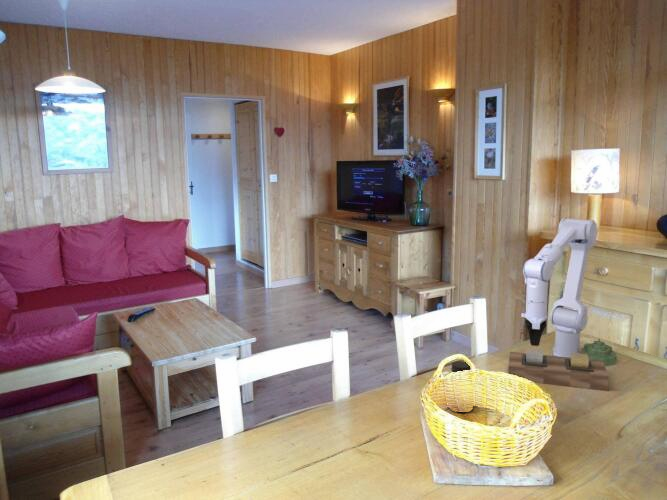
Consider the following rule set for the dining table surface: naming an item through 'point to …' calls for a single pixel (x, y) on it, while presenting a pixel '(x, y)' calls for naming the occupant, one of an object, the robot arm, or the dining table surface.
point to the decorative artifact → (600, 352)
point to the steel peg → (534, 356)
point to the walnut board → (560, 372)
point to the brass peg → (579, 360)
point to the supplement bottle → (459, 366)
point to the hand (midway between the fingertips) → (534, 345)
